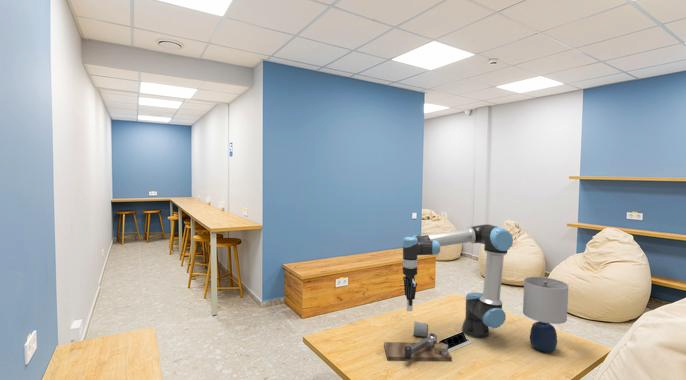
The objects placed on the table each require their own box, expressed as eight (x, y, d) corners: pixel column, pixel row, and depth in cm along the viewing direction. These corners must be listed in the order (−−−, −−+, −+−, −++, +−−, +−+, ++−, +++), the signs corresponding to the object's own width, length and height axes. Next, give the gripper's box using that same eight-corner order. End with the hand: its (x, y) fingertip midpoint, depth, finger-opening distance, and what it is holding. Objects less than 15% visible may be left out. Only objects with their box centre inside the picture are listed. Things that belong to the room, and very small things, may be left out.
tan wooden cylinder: (441, 350, 182) (441, 343, 182) (443, 354, 178) (443, 347, 178) (433, 350, 182) (433, 343, 182) (435, 354, 178) (435, 347, 178)
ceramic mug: (428, 339, 198) (428, 326, 198) (413, 337, 200) (413, 324, 200) (427, 331, 209) (428, 318, 209) (413, 330, 210) (413, 317, 210)
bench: (443, 346, 191) (443, 335, 190) (451, 361, 176) (452, 349, 175) (383, 345, 191) (384, 334, 190) (387, 360, 176) (387, 348, 175)
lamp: (559, 343, 195) (562, 278, 193) (570, 362, 176) (573, 289, 174) (519, 337, 202) (521, 274, 200) (524, 354, 183) (527, 284, 181)
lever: (430, 339, 190) (430, 330, 190) (439, 343, 187) (439, 334, 186) (401, 356, 173) (401, 346, 173) (410, 360, 169) (410, 350, 169)
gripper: (398, 264, 191) (398, 306, 192) (408, 270, 178) (407, 316, 180) (411, 263, 193) (411, 305, 194) (422, 269, 180) (421, 315, 181)
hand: (409, 310), depth 187 cm, fingers closed
